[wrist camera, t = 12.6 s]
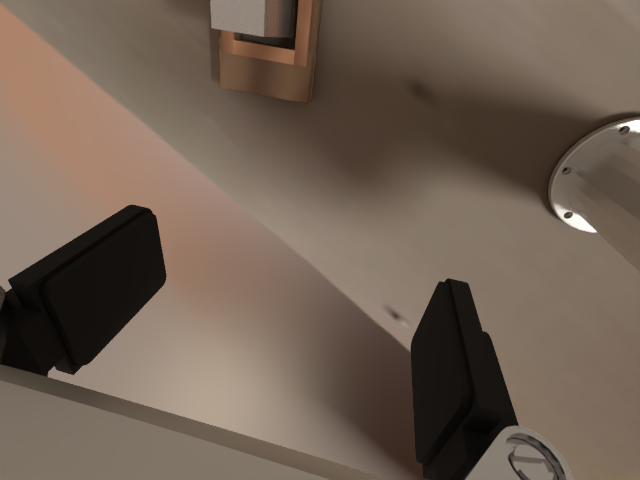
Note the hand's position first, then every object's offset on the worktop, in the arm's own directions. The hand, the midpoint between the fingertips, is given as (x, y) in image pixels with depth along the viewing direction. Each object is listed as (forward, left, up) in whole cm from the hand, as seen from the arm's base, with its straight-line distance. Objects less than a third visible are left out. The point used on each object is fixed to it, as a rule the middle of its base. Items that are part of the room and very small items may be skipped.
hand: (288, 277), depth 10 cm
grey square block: (+11, -8, -30) cm, 33 cm away
